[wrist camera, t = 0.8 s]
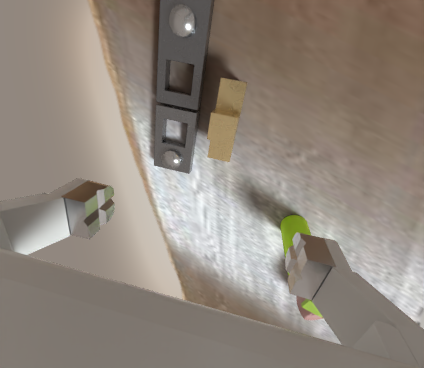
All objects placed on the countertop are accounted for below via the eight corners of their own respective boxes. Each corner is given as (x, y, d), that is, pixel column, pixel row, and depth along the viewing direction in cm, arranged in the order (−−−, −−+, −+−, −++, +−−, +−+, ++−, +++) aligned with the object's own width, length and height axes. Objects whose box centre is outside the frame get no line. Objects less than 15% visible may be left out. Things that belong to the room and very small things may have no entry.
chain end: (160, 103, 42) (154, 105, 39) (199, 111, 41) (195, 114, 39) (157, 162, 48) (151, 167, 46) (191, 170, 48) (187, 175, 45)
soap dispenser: (300, 241, 51) (323, 328, 33) (275, 228, 50) (285, 310, 33) (316, 224, 48) (351, 310, 30) (290, 210, 48) (309, 290, 30)
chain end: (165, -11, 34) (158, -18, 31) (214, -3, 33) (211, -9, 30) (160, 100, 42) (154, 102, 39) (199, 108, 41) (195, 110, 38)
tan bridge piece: (226, 77, 38) (216, 78, 29) (248, 81, 37) (245, 83, 28) (213, 146, 44) (202, 165, 35) (232, 150, 44) (226, 171, 35)
